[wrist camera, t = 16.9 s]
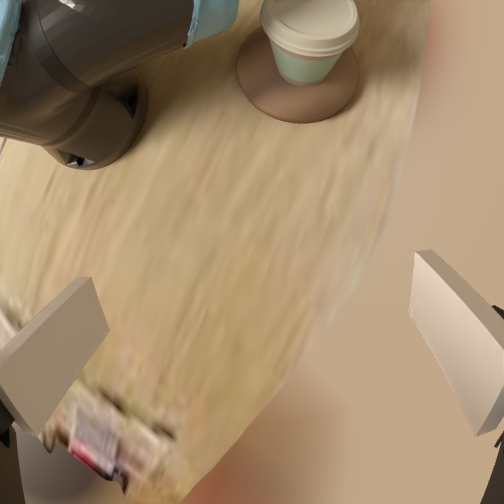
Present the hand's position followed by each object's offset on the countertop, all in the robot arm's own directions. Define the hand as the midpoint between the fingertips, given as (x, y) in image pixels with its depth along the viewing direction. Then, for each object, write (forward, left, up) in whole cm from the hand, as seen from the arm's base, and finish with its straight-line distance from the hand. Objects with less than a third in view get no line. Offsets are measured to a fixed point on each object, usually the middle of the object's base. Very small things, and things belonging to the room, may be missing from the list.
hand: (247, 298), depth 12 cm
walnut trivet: (-12, +17, -23) cm, 31 cm away
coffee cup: (-12, +17, -22) cm, 30 cm away
